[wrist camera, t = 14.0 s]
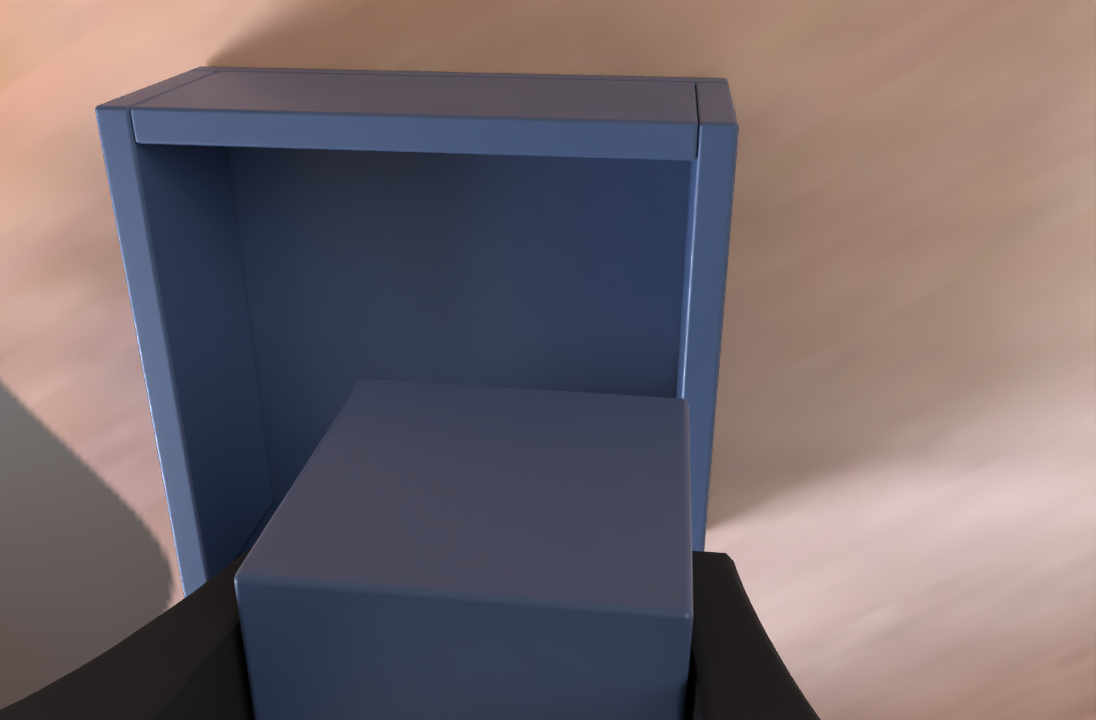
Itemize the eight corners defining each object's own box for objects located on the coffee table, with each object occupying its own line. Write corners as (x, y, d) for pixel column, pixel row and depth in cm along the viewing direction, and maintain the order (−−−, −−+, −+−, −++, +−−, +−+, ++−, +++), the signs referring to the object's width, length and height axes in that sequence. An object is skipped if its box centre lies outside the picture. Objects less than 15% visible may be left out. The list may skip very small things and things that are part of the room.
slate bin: (259, 508, 24) (186, 616, 21) (198, 66, 20) (92, 105, 16) (693, 537, 23) (695, 658, 20) (727, 77, 19) (739, 123, 15)
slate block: (378, 634, 16) (276, 891, 12) (359, 376, 14) (229, 576, 10) (668, 660, 15) (665, 936, 11) (689, 396, 14) (693, 615, 9)
